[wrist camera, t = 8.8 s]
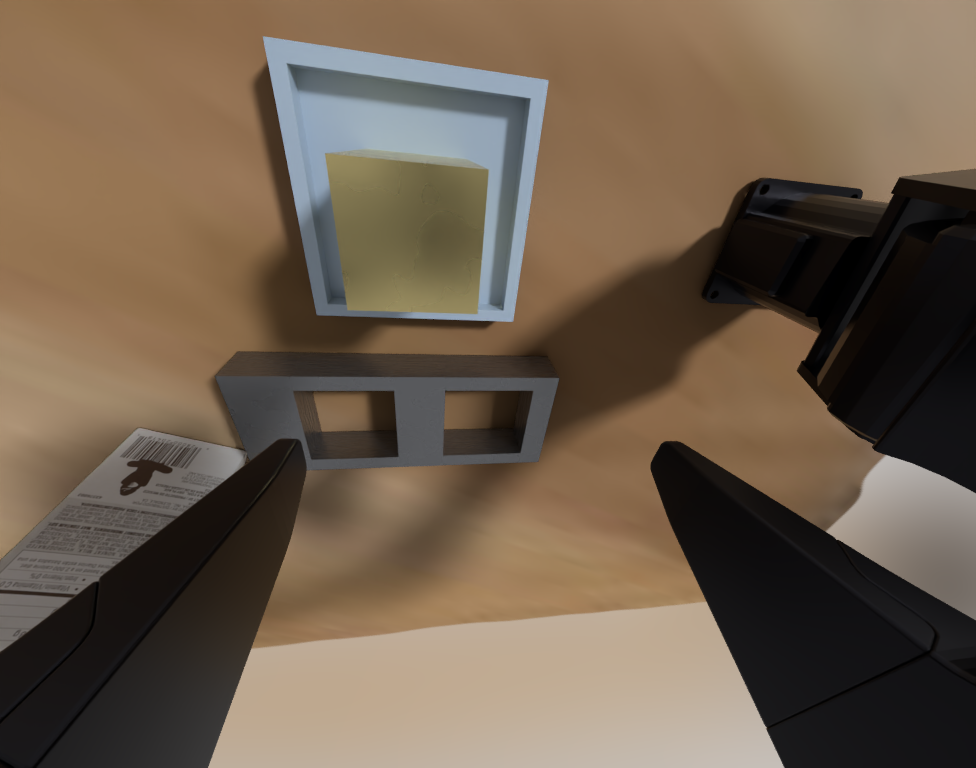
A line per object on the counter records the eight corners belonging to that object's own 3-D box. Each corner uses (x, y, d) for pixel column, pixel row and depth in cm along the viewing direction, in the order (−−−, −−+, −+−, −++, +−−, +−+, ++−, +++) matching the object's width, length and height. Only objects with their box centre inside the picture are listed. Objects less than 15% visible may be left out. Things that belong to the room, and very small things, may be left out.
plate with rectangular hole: (547, 356, 22) (559, 378, 20) (529, 436, 26) (538, 461, 24) (237, 351, 19) (214, 376, 17) (269, 443, 23) (254, 472, 21)
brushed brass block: (462, 257, 17) (477, 313, 12) (375, 253, 17) (347, 310, 11) (466, 158, 15) (489, 169, 9) (366, 148, 14) (324, 153, 9)
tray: (538, 85, 14) (548, 80, 13) (508, 310, 20) (512, 321, 19) (278, 46, 13) (262, 36, 12) (324, 303, 18) (316, 315, 17)
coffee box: (232, 526, 27) (53, 875, 14) (131, 511, 25) (-193, 913, 12) (251, 448, 23) (23, 838, 10) (131, 421, 21) (-361, 885, 8)
